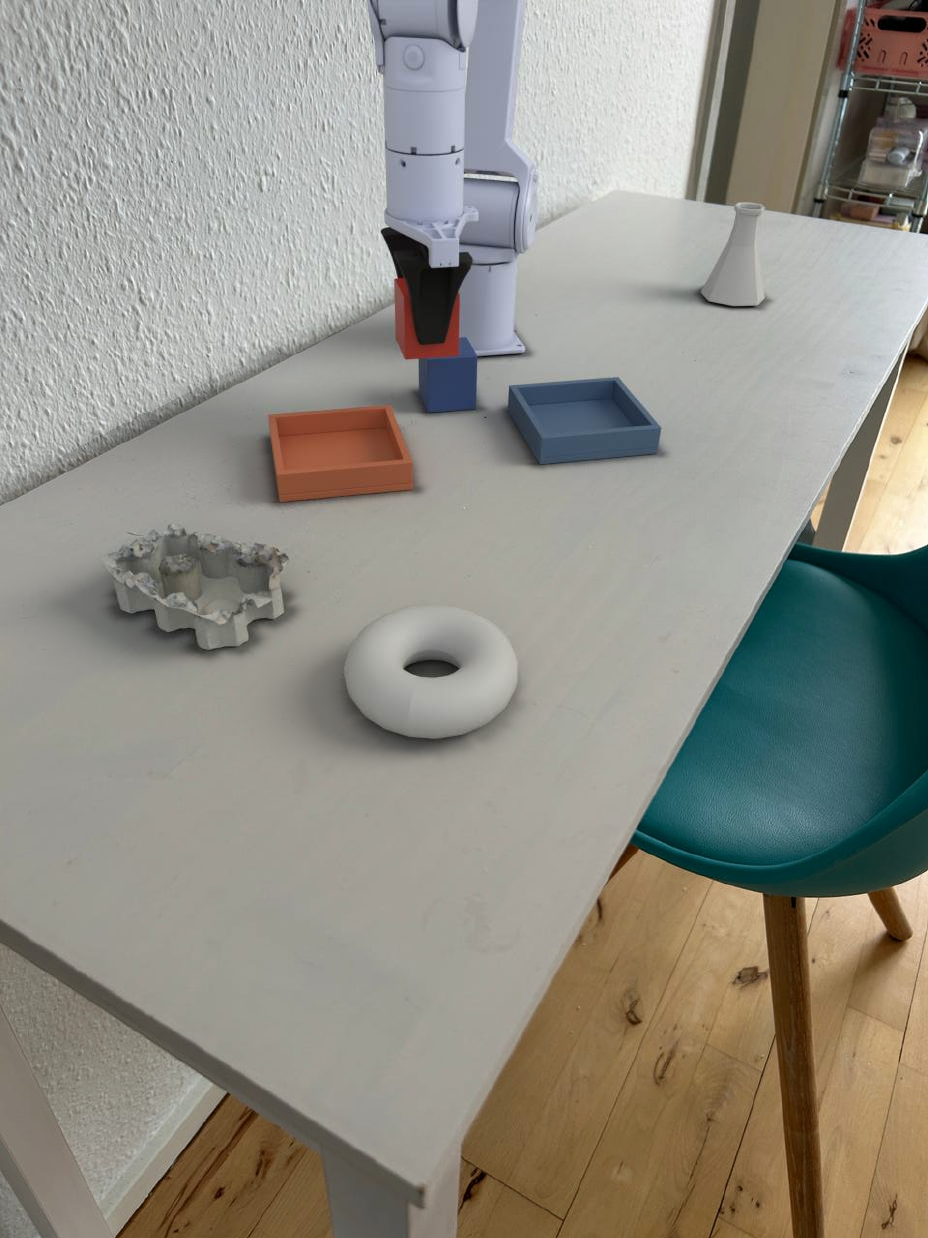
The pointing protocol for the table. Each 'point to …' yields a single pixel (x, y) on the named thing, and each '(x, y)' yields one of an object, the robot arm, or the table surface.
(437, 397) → the blue block
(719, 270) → the flask
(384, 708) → the donut
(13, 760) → the table surface
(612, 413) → the blue tray
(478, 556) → the table surface
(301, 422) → the orange tray
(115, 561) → the egg carton
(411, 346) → the red block
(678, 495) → the table surface
